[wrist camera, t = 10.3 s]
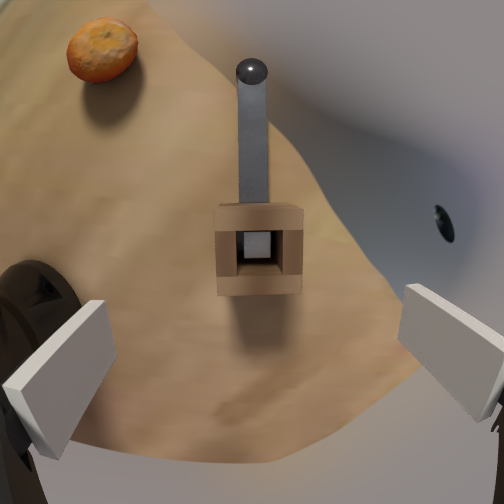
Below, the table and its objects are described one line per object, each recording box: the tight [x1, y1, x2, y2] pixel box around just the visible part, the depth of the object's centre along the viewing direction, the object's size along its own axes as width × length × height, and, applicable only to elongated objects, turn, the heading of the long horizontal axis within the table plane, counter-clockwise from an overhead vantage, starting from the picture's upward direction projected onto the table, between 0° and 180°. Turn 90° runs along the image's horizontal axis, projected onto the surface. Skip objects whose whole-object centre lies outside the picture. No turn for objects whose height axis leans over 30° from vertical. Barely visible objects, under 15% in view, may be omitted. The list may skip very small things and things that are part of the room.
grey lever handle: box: [236, 58, 271, 258], centre depth 28 cm, size 5×22×7 cm, turn 1°
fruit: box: [67, 17, 138, 86], centre depth 25 cm, size 8×8×8 cm
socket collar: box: [214, 203, 304, 296], centre depth 26 cm, size 6×6×8 cm
